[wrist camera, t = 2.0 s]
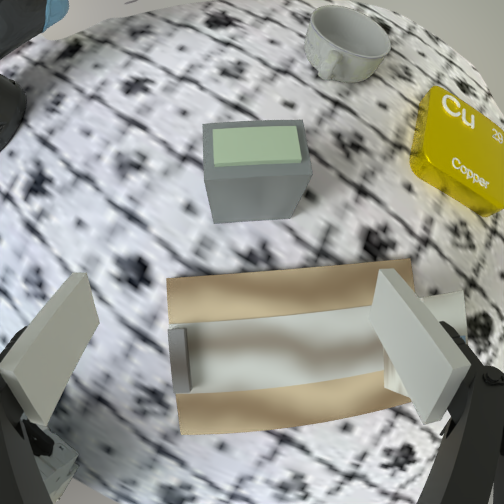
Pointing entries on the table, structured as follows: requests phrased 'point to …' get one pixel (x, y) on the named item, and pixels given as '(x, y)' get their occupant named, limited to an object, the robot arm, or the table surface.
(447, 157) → the element tile
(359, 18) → the teacup
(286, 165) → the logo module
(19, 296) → the table surface
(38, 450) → the circuit breaker
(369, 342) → the rail plate
